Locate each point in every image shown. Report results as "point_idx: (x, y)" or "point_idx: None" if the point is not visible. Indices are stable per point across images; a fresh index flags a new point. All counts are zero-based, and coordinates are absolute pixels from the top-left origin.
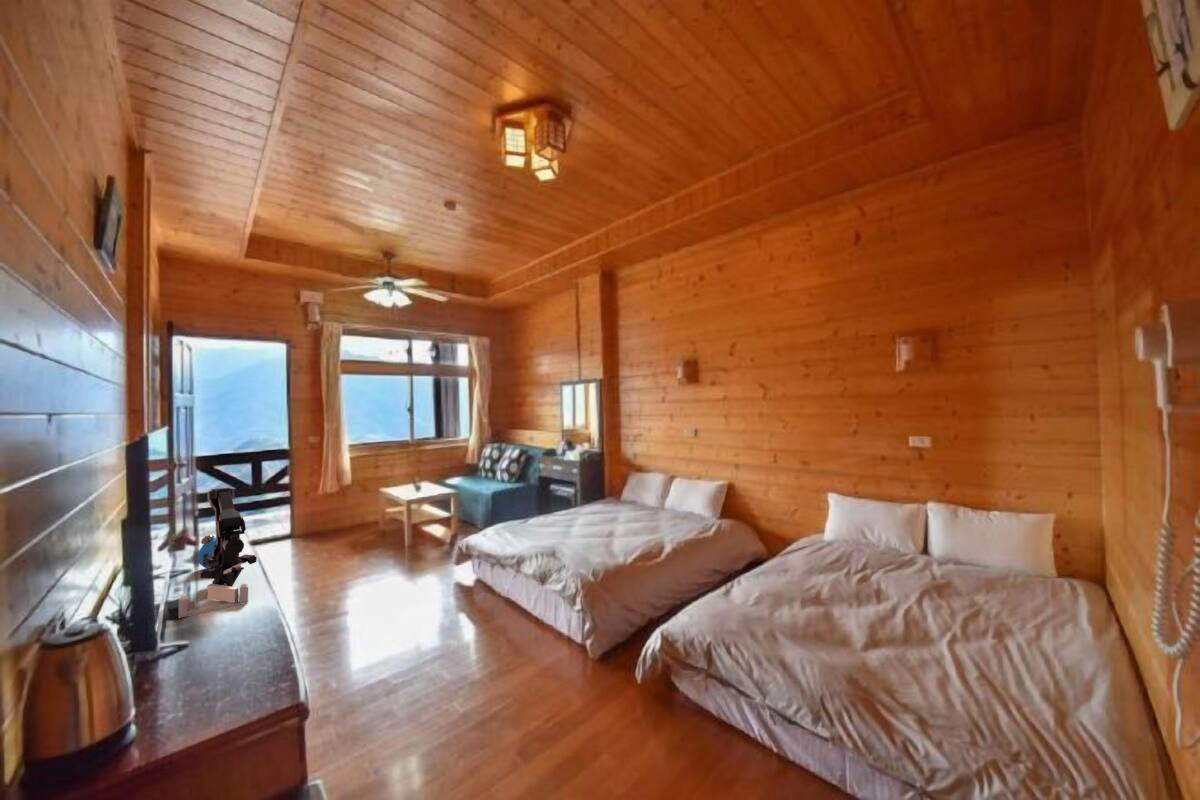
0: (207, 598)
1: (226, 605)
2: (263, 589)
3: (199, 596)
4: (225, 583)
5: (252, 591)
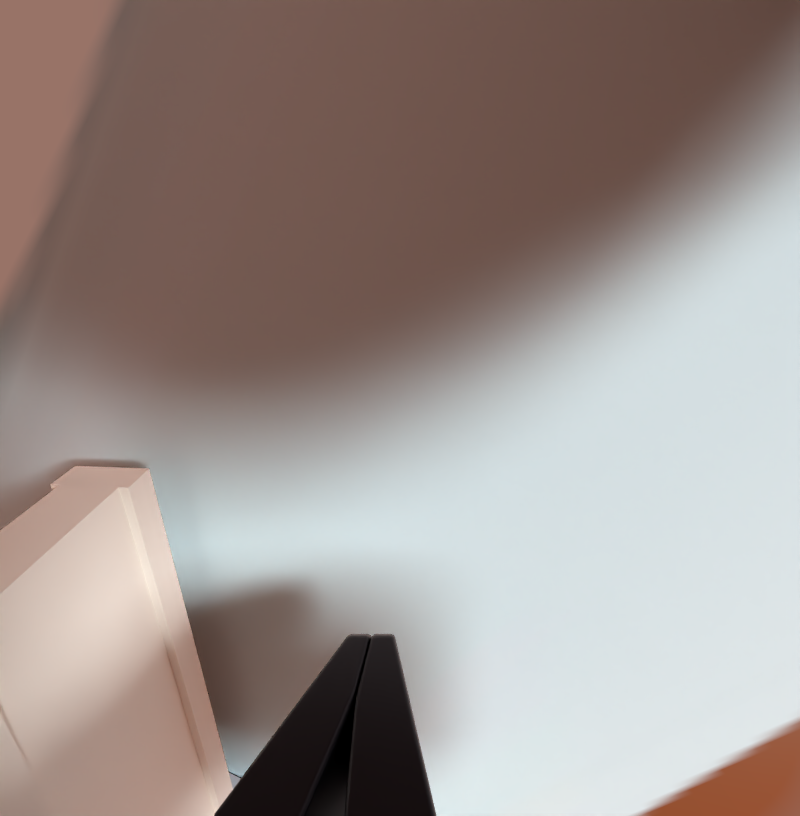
0: (77, 470)
1: None
2: (664, 794)
3: (110, 88)
4: (272, 743)
5: (575, 731)
